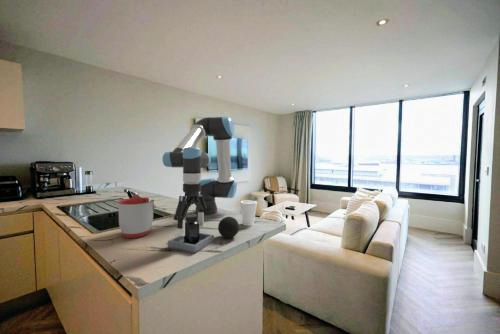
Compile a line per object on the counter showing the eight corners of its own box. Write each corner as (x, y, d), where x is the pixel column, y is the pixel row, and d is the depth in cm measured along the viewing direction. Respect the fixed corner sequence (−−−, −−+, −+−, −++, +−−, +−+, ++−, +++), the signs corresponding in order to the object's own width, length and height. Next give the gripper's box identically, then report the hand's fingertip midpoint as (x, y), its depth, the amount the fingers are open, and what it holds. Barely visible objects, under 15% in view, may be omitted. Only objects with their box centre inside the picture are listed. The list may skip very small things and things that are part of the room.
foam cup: (250, 227, 120) (251, 204, 119) (237, 224, 125) (237, 202, 124) (259, 223, 128) (259, 201, 127) (246, 220, 133) (246, 199, 132)
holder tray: (188, 236, 106) (188, 230, 106) (213, 241, 101) (213, 234, 100) (167, 247, 93) (167, 240, 93) (195, 253, 88) (195, 246, 87)
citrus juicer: (162, 233, 110) (162, 193, 109) (124, 243, 97) (124, 198, 96) (149, 226, 120) (149, 190, 119) (113, 234, 107) (112, 194, 106)
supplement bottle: (201, 240, 100) (201, 214, 99) (196, 246, 93) (196, 218, 92) (187, 239, 100) (187, 213, 100) (181, 245, 94) (180, 217, 93)
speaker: (213, 238, 104) (213, 217, 104) (227, 232, 113) (227, 213, 112) (229, 243, 99) (230, 221, 98) (242, 236, 107) (243, 216, 106)
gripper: (201, 179, 108) (201, 221, 109) (164, 185, 85) (164, 239, 86) (214, 180, 105) (213, 223, 107) (179, 186, 82) (179, 242, 83)
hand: (191, 230), depth 96 cm, fingers open, 13 cm apart
